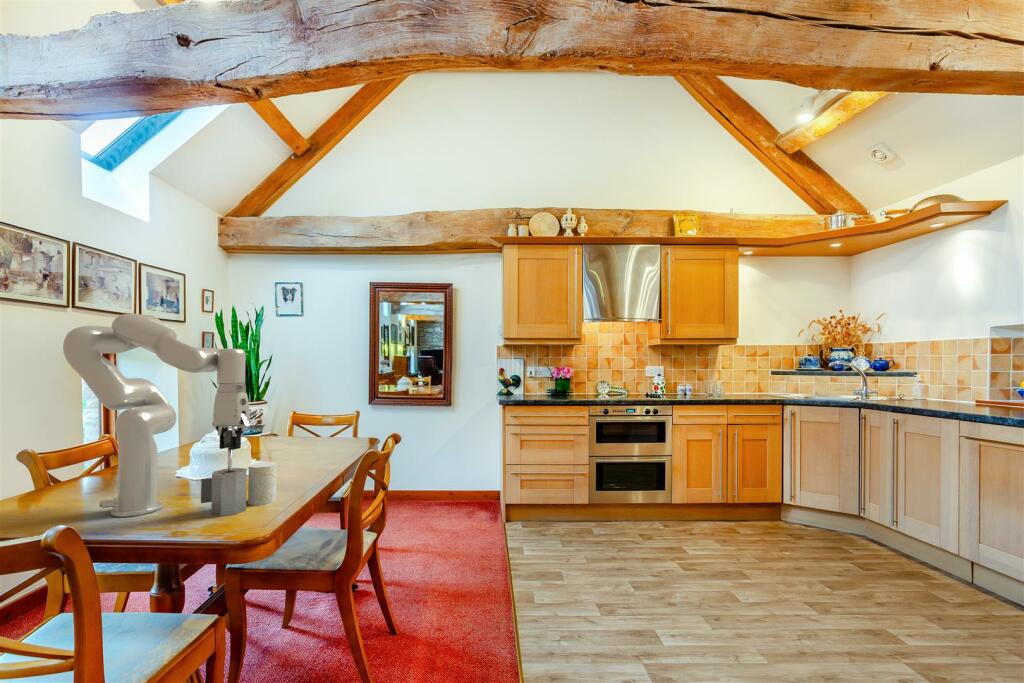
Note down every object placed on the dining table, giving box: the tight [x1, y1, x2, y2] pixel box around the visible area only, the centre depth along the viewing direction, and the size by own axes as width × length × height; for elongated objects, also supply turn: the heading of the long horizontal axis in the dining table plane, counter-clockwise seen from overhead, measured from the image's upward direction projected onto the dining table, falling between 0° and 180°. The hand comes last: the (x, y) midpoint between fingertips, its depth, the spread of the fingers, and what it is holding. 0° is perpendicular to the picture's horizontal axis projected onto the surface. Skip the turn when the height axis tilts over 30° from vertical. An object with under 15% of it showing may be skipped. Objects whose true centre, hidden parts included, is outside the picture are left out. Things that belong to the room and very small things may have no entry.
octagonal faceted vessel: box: [200, 467, 248, 517], centre depth 147 cm, size 12×9×12 cm
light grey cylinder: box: [247, 461, 278, 506], centre depth 157 cm, size 8×8×12 cm
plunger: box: [223, 429, 233, 473], centre depth 148 cm, size 4×4×17 cm
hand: (230, 447), depth 148 cm, fingers closed on plunger, 3 cm apart
